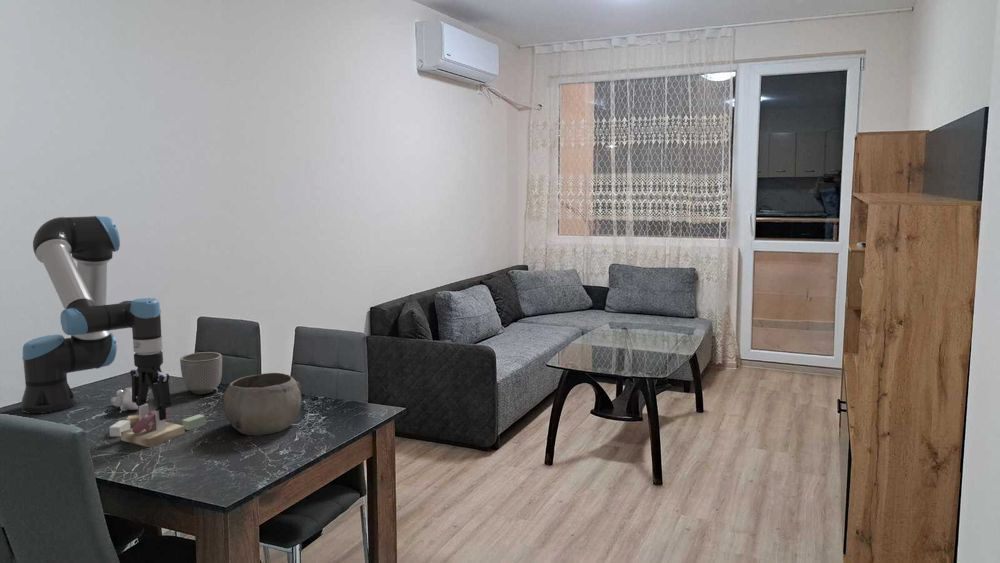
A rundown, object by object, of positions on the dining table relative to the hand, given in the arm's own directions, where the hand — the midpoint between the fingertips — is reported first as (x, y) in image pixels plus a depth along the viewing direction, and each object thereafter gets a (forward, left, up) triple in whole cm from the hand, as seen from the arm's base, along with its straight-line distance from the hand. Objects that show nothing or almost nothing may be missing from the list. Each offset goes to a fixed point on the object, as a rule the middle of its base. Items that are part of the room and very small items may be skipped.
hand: (152, 428), depth 209 cm
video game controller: (0, 0, 0) cm, 1 cm away
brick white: (-12, -2, -3) cm, 13 cm away
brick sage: (+3, +12, -3) cm, 13 cm away
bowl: (+22, +22, -3) cm, 31 cm away
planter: (-24, +39, -3) cm, 46 cm away
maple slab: (0, 0, -3) cm, 3 cm away
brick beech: (-13, +5, -3) cm, 14 cm away
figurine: (-31, +15, -3) cm, 34 cm away
